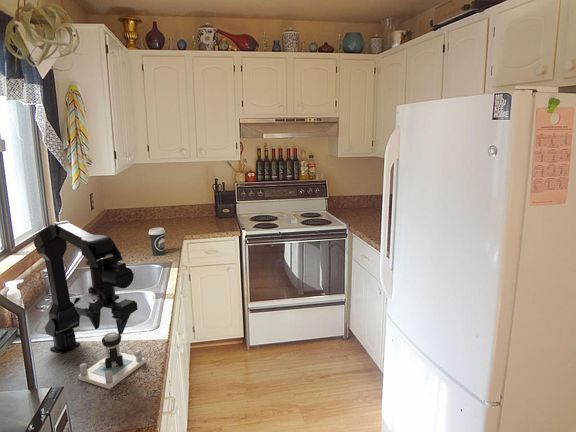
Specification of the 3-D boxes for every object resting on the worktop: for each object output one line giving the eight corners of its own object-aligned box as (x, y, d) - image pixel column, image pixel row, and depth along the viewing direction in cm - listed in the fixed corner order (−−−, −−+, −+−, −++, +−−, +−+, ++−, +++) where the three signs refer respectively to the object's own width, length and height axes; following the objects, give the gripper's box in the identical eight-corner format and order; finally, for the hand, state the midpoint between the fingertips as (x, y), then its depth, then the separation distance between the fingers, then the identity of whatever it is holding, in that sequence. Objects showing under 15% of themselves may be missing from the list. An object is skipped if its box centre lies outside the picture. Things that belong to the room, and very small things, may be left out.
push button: (99, 373, 115) (95, 342, 113) (100, 363, 120) (97, 333, 118) (123, 368, 117) (120, 337, 115) (124, 359, 122) (121, 329, 120)
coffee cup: (167, 251, 236) (165, 226, 233) (167, 255, 227) (165, 230, 224) (150, 252, 233) (148, 228, 230) (149, 257, 224) (147, 231, 221)
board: (78, 379, 114) (76, 366, 113) (115, 354, 127) (114, 342, 126) (109, 389, 110) (108, 375, 109) (145, 362, 122) (144, 350, 121)
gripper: (53, 286, 108) (61, 338, 112) (104, 296, 101) (111, 351, 105) (87, 273, 119) (93, 321, 122) (136, 281, 112) (141, 332, 115)
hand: (108, 331), depth 116 cm, fingers open, 9 cm apart
